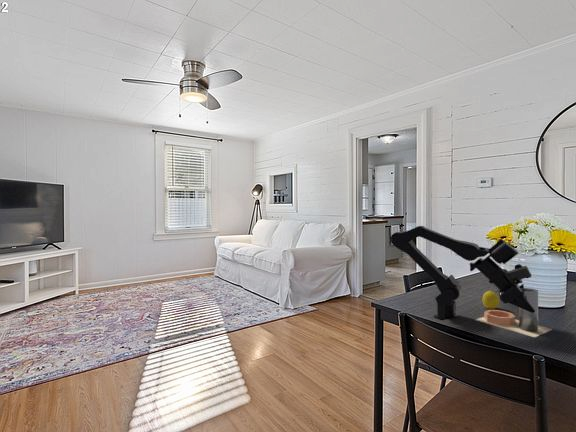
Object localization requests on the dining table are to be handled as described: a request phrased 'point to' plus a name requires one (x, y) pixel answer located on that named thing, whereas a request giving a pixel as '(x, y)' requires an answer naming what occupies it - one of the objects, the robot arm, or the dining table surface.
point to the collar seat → (499, 317)
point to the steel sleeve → (527, 318)
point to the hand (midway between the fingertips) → (533, 309)
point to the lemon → (490, 300)
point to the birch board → (516, 328)
